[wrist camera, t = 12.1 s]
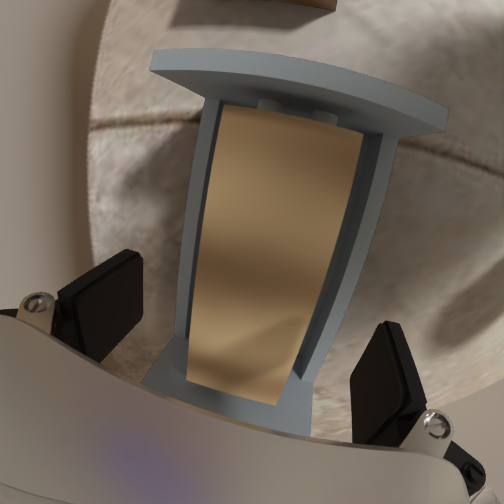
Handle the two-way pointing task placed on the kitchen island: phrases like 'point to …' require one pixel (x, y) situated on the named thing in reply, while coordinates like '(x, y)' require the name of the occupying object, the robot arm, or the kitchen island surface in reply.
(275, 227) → the board
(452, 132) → the kitchen island surface
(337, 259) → the bed
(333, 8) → the block
